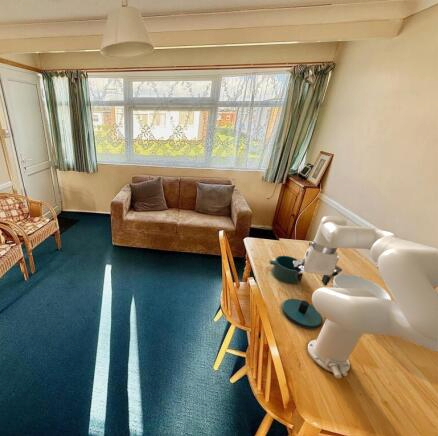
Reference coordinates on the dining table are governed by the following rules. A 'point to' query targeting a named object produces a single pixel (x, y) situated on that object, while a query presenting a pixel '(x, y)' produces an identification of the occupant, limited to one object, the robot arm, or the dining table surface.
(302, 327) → the mat
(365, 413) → the dining table surface
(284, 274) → the pot
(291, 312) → the lid
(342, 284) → the serving bowl
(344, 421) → the dining table surface
